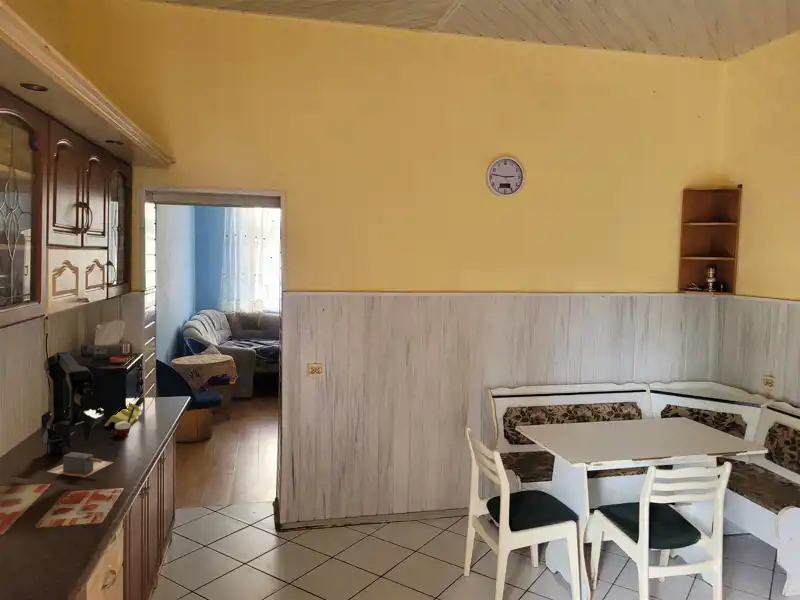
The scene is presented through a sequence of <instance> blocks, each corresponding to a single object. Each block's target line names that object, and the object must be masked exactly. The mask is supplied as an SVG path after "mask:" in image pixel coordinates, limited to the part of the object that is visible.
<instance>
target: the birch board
mask: <svg viewBox="0 0 800 600" xmlns="http://www.w3.org/2000/svg"><path fill="white" fill-rule="evenodd" d="M112 464H114V462H113V461H106V460H102V463H98V462H93V471H91V472H89V473H87V474H85V475H84V474H77V473H69V472H63V463H62V464H61V465H58V466H56V467H54V468H52V469H50V470H47V471H46V472H47V473H52V474H59V475H66V476H74V477H80V478H87V477H88V476H90V475H92V474H94V473H96V472H98V471H100V470H102V469H103V468H106V467H107V466H109V465H112Z"/></svg>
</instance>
